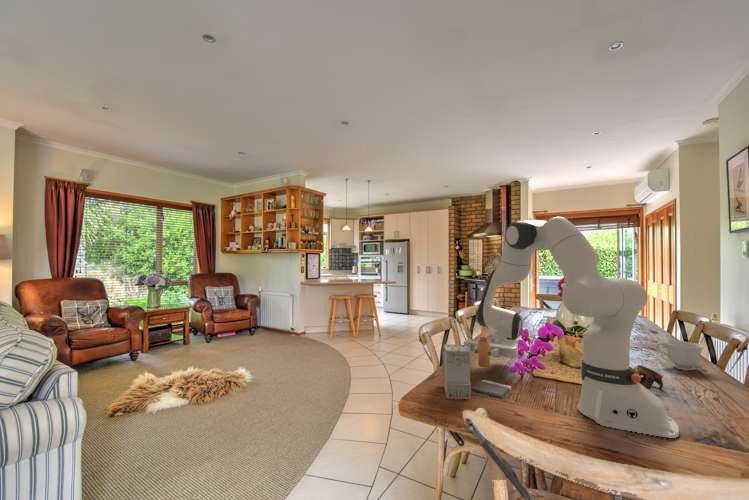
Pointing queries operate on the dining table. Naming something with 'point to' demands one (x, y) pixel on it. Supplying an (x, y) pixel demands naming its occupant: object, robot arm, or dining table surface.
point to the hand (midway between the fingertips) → (482, 352)
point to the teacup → (682, 353)
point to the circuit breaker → (456, 371)
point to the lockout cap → (483, 352)
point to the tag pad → (491, 388)
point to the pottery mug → (649, 377)
